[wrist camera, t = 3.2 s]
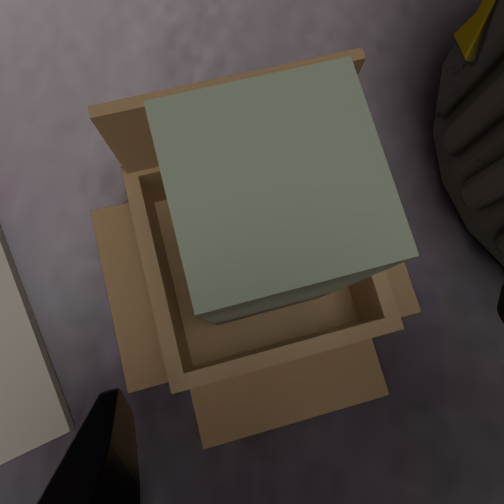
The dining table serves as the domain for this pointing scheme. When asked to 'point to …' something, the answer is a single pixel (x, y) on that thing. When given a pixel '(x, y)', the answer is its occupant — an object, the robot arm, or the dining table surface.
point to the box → (277, 189)
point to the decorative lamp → (475, 125)
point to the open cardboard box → (239, 331)
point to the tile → (25, 373)
